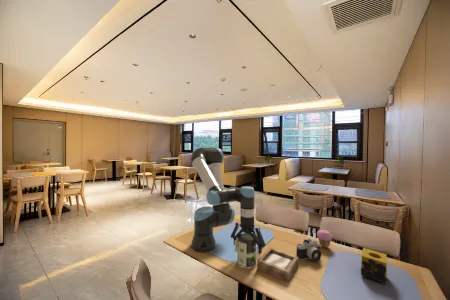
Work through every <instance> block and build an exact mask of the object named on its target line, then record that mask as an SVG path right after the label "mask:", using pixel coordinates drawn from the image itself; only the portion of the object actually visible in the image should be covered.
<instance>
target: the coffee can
mask: <svg viewBox="0 0 450 300" xmlns="http://www.w3.org/2000/svg"><path fill="white" fill-rule="evenodd" d="M237 239H238V249H237V252H236V254H237V255H236V256H237V258H236V260H237V262H236V264H237V265H238V266H239V267H240V268H243V269H254V268H255V267H257V244H256V242H255V241H254V239H253V237H252V236H251V235H250V234H247V233H244V232H242V233H241V234H240V235H239V236H237Z"/></svg>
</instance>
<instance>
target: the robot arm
mask: <svg viewBox="0 0 450 300" xmlns="http://www.w3.org/2000/svg"><path fill="white" fill-rule="evenodd" d="M224 158H225V156H224V152H223V151H222V149H221V148H219V147H198V148H196V149H194V150H193V151H192V152H191V155H190V164H191V165H192V168H194V169H195V170H196V172H197V174H198V176H199V178H200V179H201V182H202V184H203V186H204V187H205V189H206V191H207V192H206V202H207V203H208V205H210V206H207V205H206V206H201V207H198V208H196V209H195V211H194V215H193V216H194V217H193V219H194V220H193V221H194V224H193V225H194V229H193V233H194V234H193V236H192V240H191V243H190V247H191V249H192V250H193V251H195V252H197V253H199V252H200V253H206V252H210V251H212V250H214V249H215V248H216V246H217V245H216V244H217V243H216V240H215V236H214V228H218V227H223V226H228V225H229V224H232V223H233V222H234V220H235V215H236V214H235V213H236V212H235V209H234V207H233V206H232V205H230V203H233V202H238V203H240V211H239V212H240V216H239V217H240V221H237V222H235V226H234V228H233V230H232V232H231V235H230V238H231V239H233V246H234V253H237V249H238V239H237V236H239V235H240V234H243V233H247V234H250V235H251V236H252V237H253V239H254V241H255V242H256V261H257V260H259V259H260V257H261V254H262V253H263V248H264V247H266V246H267V245H266V243H265V240H264V238H263V235H262V232H261V227H260V226H255V197H256V196H255V195H256V194H255V189H254V187H252V186H248V185H247V186H246V185H245V186H241V187H237V186H230V187H229V188H225V185H224V181H223V175H222V168H221V166H222V165H223V163H224ZM211 205H212V206H211ZM239 228H240V229H239Z"/></svg>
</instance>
